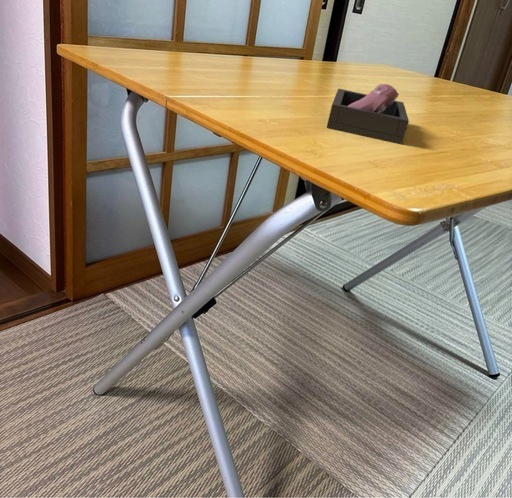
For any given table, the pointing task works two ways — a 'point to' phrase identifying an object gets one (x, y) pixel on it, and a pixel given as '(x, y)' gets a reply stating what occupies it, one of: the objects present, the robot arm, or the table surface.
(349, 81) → the table surface
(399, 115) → the open box
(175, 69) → the table surface
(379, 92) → the video game controller
